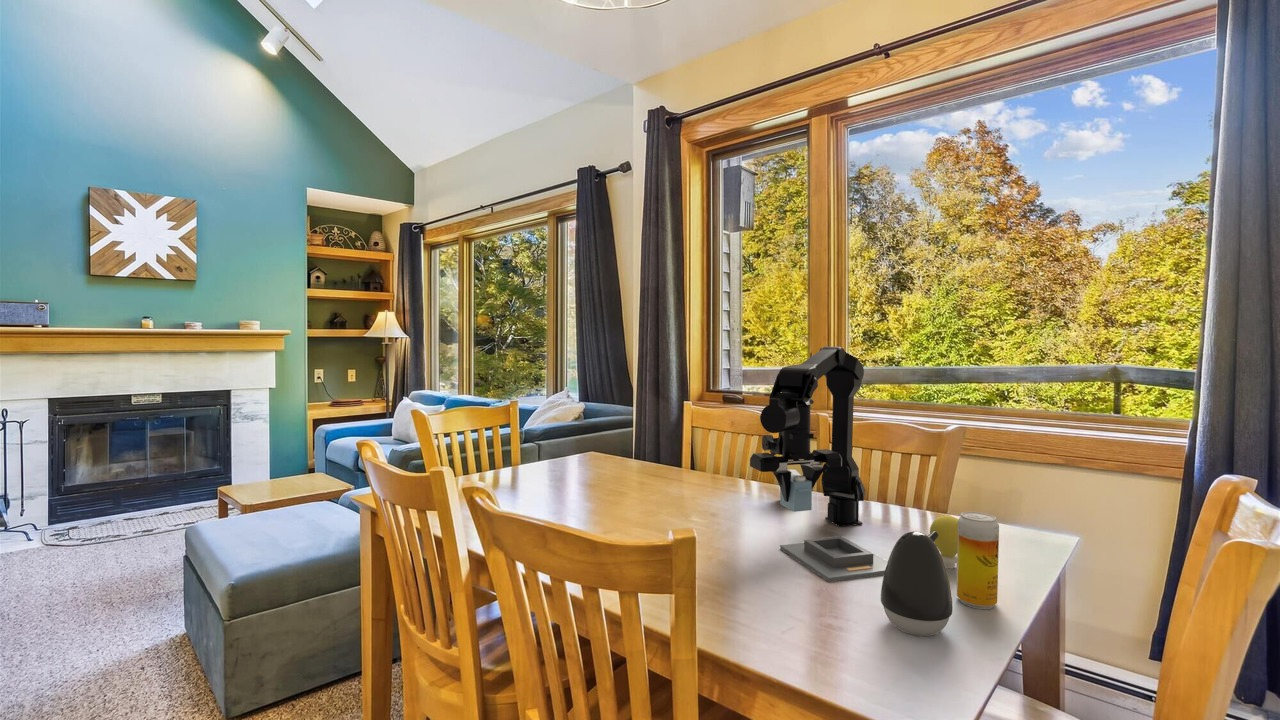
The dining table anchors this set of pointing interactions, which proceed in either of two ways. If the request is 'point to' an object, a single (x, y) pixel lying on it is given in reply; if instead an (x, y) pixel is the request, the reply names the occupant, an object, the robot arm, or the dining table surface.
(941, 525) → the light bulb
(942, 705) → the dining table surface
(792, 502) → the block
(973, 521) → the beer can
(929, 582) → the dark egg-shaped diffuser
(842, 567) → the chassis plate
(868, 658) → the dining table surface
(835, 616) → the dining table surface
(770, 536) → the dining table surface
